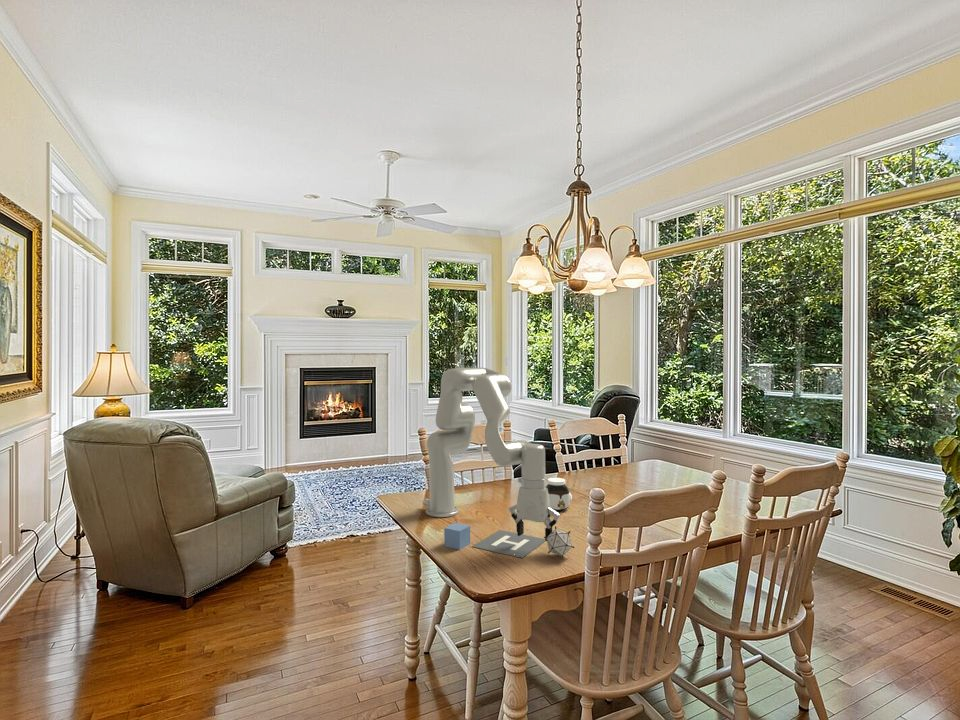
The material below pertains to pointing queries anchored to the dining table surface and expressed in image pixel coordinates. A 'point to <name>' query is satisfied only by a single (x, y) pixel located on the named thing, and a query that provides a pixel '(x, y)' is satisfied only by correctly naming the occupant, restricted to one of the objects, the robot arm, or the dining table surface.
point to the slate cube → (457, 536)
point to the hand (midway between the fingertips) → (534, 537)
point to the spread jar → (558, 494)
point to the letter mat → (510, 543)
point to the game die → (559, 542)
